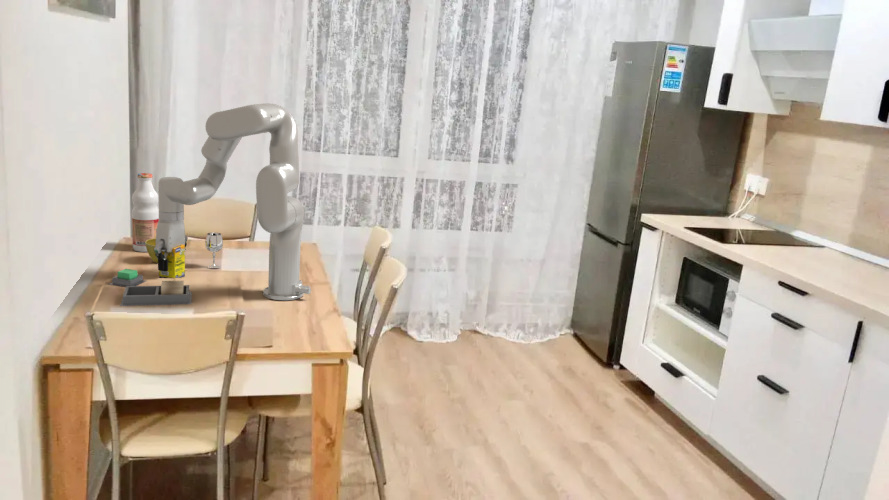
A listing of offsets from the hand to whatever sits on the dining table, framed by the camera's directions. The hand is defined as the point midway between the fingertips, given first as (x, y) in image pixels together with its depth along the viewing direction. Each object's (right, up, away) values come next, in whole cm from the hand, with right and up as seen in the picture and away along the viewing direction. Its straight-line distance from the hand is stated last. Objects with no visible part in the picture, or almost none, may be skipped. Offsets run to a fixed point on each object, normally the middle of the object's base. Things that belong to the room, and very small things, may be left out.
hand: (171, 266), depth 224 cm
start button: (-9, -3, -11) cm, 15 cm away
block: (+8, -9, -20) cm, 24 cm away
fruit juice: (-21, +6, +29) cm, 36 cm away
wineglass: (+9, -1, +15) cm, 18 cm away
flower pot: (-10, +1, +16) cm, 19 cm away
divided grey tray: (+4, -10, -22) cm, 24 cm away
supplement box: (0, -4, +1) cm, 4 cm away
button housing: (-10, -6, -10) cm, 15 cm away
